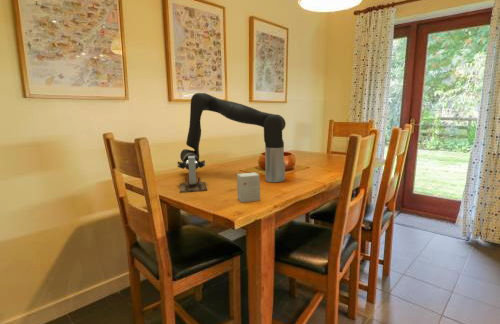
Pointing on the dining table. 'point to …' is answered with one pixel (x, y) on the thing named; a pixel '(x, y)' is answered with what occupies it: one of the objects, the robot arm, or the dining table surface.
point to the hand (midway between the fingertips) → (192, 167)
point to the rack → (192, 186)
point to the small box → (248, 187)
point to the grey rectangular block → (192, 169)
